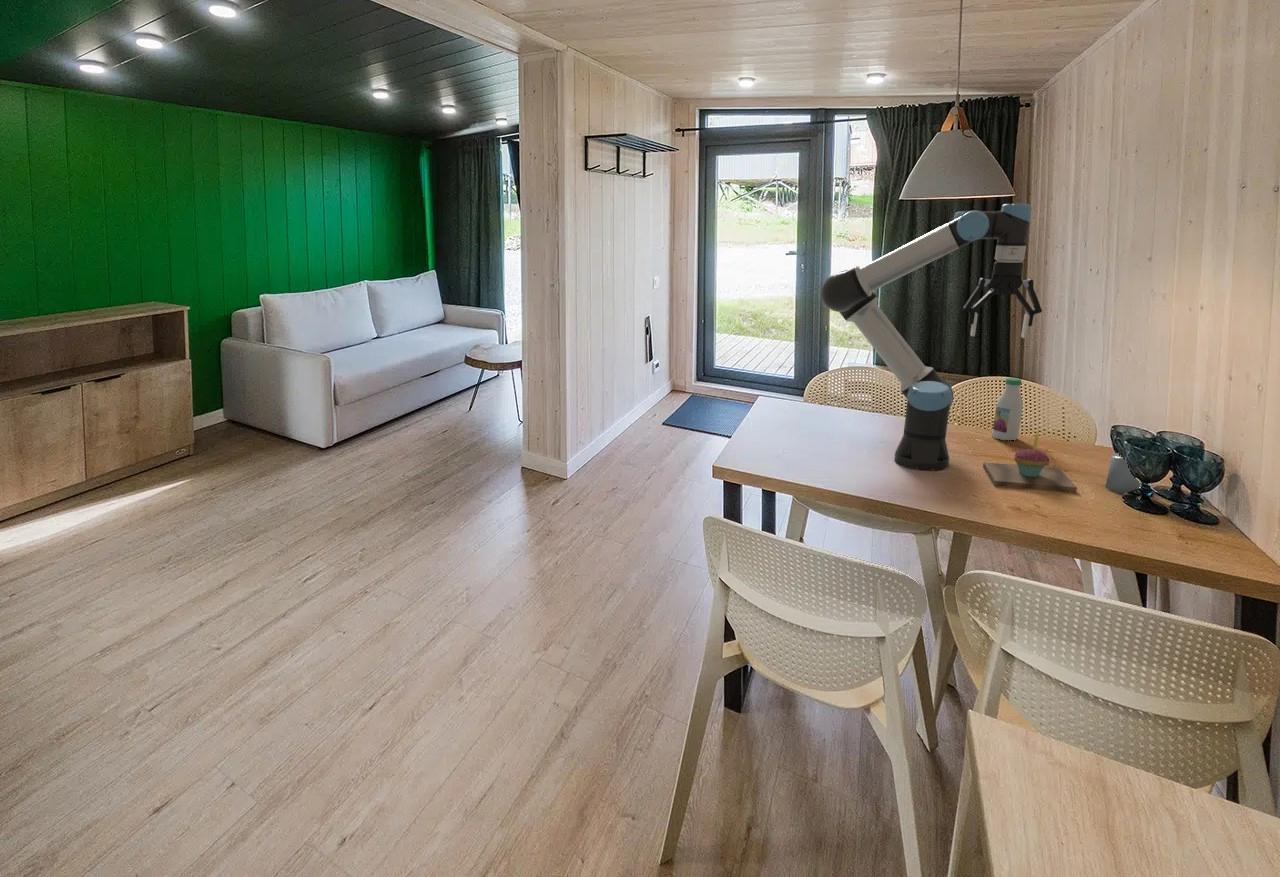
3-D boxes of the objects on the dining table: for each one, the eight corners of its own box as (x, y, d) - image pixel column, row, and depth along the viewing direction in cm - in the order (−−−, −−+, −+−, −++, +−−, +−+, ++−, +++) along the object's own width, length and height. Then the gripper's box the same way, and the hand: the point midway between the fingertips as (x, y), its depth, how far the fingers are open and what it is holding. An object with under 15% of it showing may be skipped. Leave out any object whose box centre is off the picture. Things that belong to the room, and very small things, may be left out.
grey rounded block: (1111, 493, 190) (1118, 461, 188) (1101, 483, 198) (1107, 452, 195) (1145, 496, 189) (1153, 463, 186) (1133, 485, 196) (1140, 454, 193)
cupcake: (1016, 467, 206) (1022, 426, 202) (1049, 473, 201) (1056, 432, 197) (1008, 475, 199) (1015, 433, 196) (1043, 481, 194) (1050, 439, 191)
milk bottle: (1012, 435, 242) (1021, 376, 236) (1021, 441, 234) (1031, 381, 228) (988, 434, 242) (996, 376, 236) (996, 441, 235) (1005, 381, 229)
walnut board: (994, 486, 196) (995, 480, 195) (982, 467, 210) (983, 462, 210) (1076, 492, 191) (1077, 487, 190) (1058, 472, 206) (1059, 468, 205)
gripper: (963, 261, 202) (953, 336, 208) (1062, 262, 196) (1048, 340, 202) (959, 259, 209) (949, 332, 215) (1054, 261, 203) (1041, 336, 209)
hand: (997, 336), depth 209 cm, fingers open, 13 cm apart
